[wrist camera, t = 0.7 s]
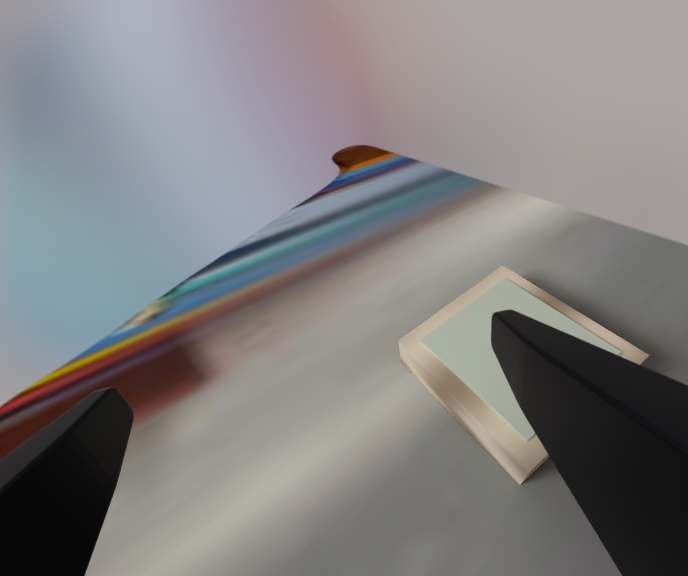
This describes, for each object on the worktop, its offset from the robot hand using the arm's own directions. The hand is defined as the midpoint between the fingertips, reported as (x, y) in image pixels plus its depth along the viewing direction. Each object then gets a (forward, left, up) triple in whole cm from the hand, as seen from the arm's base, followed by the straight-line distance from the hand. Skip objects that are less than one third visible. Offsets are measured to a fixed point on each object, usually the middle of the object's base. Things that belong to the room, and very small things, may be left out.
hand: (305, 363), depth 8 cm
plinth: (+1, -12, -16) cm, 20 cm away
